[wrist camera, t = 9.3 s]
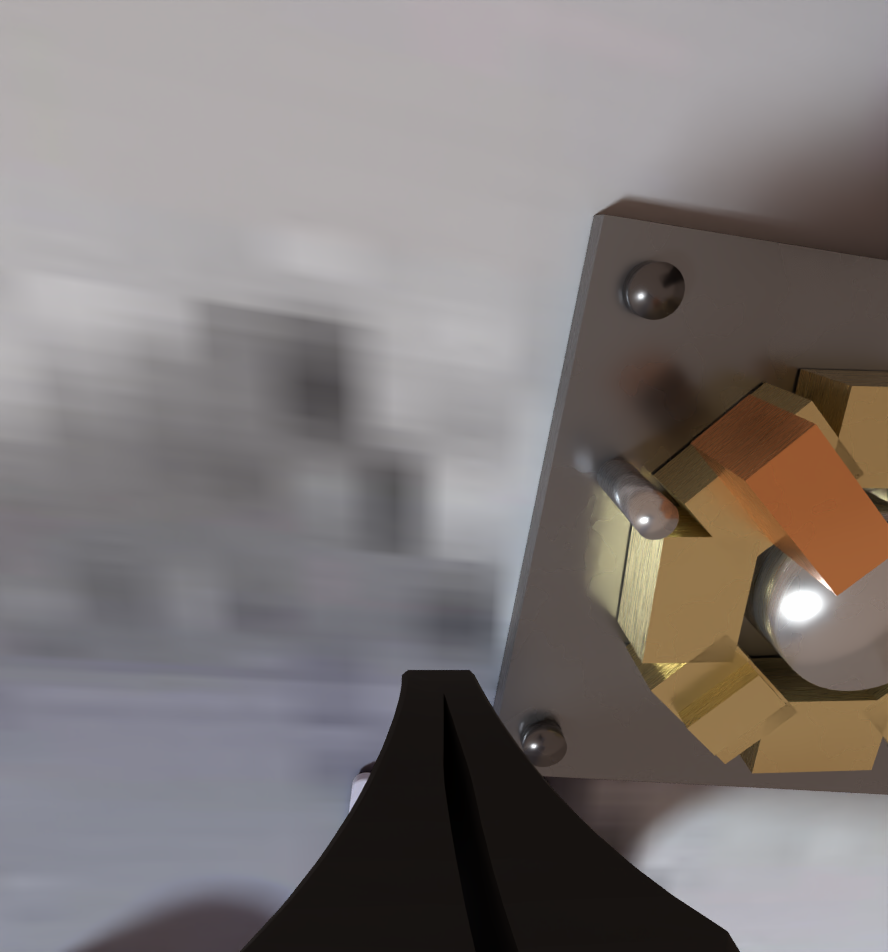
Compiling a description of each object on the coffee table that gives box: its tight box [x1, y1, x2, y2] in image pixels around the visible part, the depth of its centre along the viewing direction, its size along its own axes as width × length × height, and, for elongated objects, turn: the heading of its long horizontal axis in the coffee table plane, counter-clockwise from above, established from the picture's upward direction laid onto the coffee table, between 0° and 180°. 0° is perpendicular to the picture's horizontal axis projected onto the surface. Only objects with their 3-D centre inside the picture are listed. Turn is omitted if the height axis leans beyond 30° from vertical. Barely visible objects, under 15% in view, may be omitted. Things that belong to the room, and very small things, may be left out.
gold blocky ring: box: [618, 369, 888, 773], centre depth 20 cm, size 14×15×5 cm
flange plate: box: [493, 214, 888, 795], centre depth 22 cm, size 20×20×4 cm
